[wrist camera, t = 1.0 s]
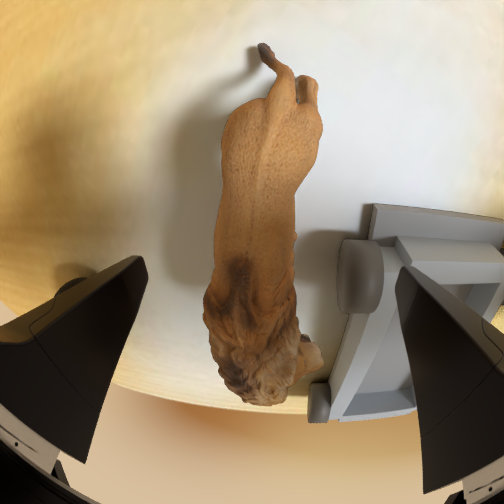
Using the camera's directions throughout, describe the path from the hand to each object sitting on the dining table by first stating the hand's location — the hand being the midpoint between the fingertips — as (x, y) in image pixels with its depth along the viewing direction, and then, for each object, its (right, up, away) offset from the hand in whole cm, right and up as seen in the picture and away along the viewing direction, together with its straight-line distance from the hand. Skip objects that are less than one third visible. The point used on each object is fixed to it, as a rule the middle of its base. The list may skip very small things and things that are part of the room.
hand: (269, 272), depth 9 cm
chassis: (+12, -6, +10) cm, 17 cm away
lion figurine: (+1, +4, +6) cm, 7 cm away
